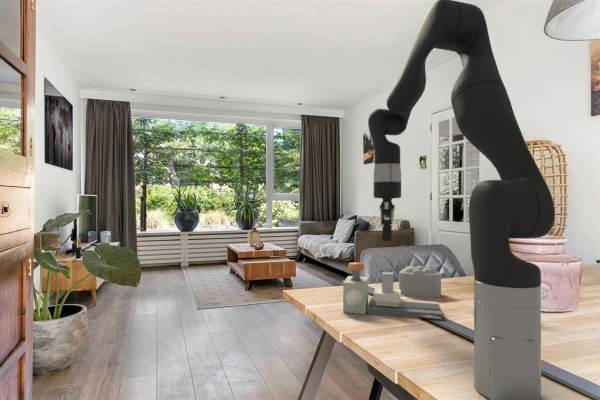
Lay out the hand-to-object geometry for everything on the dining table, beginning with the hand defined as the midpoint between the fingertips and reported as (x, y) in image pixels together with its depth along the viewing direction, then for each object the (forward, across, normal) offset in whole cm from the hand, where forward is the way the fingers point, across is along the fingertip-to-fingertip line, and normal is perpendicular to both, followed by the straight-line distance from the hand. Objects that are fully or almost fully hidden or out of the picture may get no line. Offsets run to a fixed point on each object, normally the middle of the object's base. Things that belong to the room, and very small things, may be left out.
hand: (387, 239), depth 105 cm
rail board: (+20, 0, -4) cm, 20 cm away
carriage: (+18, 0, 0) cm, 18 cm away
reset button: (+14, 0, +8) cm, 16 cm away
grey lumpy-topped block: (+20, +24, -10) cm, 33 cm away
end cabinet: (+20, 0, +8) cm, 21 cm away
